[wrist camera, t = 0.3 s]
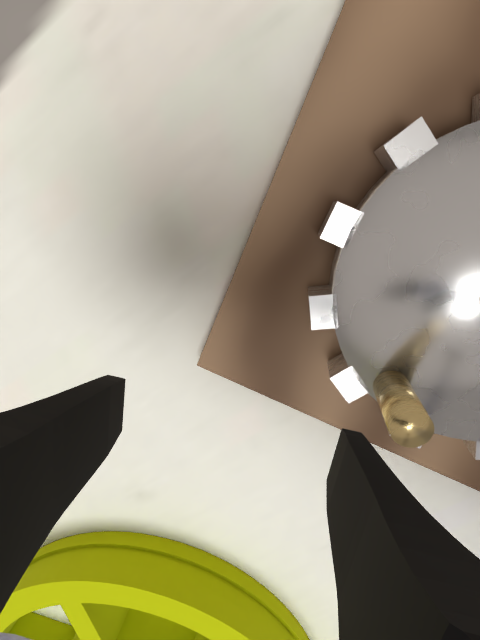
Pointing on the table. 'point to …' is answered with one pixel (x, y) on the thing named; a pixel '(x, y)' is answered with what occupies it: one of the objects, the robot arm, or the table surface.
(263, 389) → the base board
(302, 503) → the table surface
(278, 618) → the pulley
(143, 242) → the table surface
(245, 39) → the table surface
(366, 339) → the wheel
